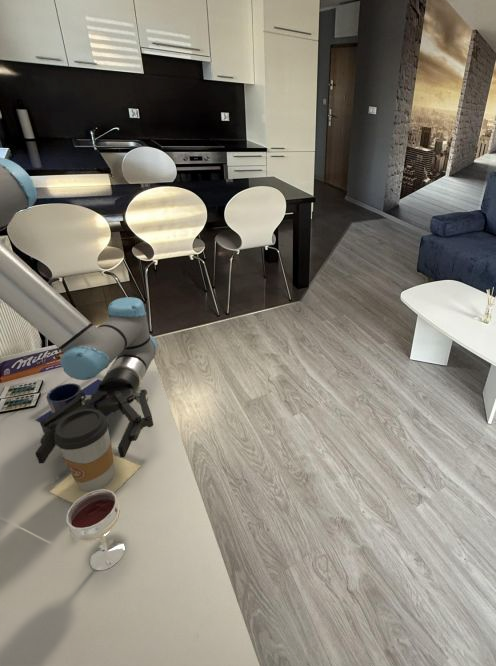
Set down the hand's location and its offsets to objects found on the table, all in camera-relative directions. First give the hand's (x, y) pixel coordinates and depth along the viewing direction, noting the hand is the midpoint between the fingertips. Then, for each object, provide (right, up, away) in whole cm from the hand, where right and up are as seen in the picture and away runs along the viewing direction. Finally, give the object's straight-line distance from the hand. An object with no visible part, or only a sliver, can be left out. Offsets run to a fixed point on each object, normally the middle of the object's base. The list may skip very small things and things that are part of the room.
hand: (80, 455), depth 73 cm
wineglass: (+9, -14, -6) cm, 18 cm away
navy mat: (-14, +2, +23) cm, 27 cm away
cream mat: (-1, -7, +6) cm, 9 cm away
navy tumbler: (-13, -1, +17) cm, 22 cm away
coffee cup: (-1, -7, +6) cm, 9 cm away
